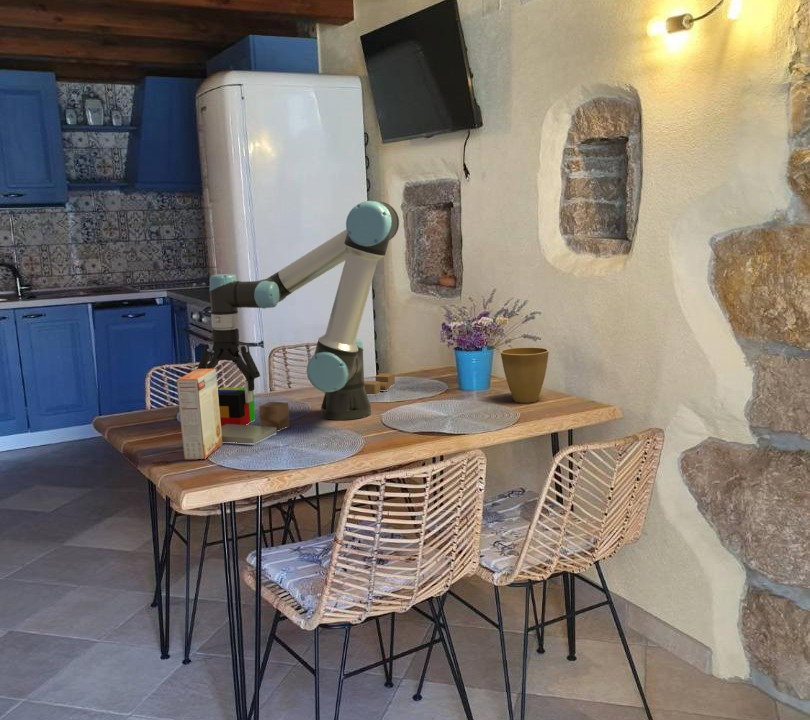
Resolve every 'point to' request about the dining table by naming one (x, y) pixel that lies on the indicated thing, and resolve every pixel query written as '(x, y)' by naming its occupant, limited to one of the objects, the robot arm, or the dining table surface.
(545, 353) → the plant pot
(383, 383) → the wooden block set
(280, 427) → the walnut block
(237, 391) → the puzzle toy
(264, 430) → the slate tile
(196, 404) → the cracker box
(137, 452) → the dining table surface
